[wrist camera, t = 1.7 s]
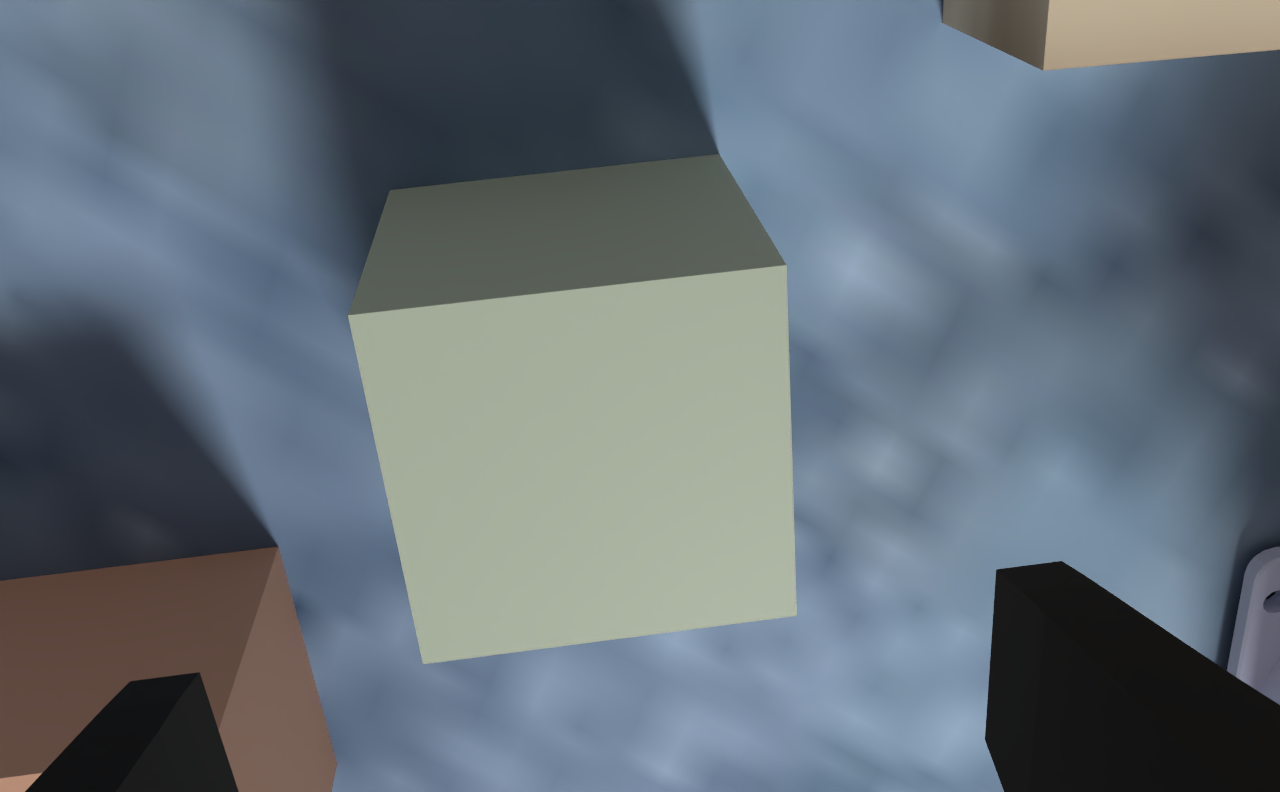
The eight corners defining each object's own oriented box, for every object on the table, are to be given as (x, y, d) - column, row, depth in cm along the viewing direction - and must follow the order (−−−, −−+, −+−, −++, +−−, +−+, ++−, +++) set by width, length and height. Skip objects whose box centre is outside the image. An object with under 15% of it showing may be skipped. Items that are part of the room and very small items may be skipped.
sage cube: (734, 438, 20) (796, 615, 16) (443, 472, 20) (423, 663, 15) (717, 152, 18) (786, 265, 13) (389, 188, 18) (348, 315, 13)
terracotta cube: (337, 760, 22) (293, 994, 18) (73, 795, 22) (-39, 1042, 18) (278, 544, 20) (212, 750, 16) (-16, 579, 20) (-170, 800, 15)
